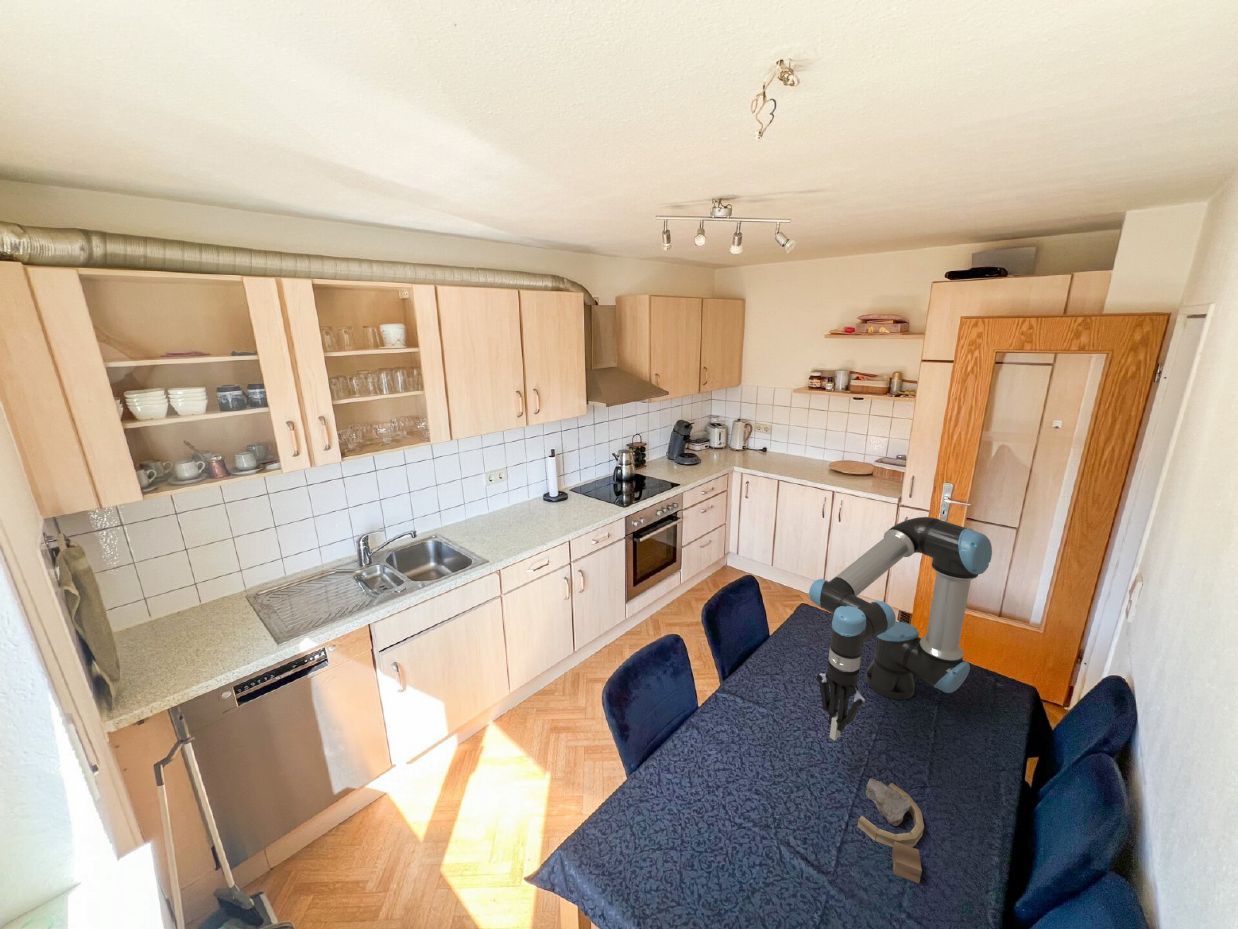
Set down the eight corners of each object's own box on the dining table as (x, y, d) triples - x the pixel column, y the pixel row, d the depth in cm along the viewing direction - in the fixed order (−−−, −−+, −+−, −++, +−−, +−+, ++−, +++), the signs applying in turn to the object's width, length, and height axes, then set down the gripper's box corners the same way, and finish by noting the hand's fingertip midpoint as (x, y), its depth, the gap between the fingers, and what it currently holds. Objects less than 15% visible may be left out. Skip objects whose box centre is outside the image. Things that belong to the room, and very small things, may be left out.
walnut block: (891, 854, 116) (894, 841, 115) (915, 862, 114) (918, 850, 113) (893, 874, 111) (896, 861, 110) (918, 884, 109) (921, 871, 108)
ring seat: (890, 790, 132) (891, 782, 131) (933, 820, 123) (935, 813, 123) (857, 826, 122) (858, 819, 121) (902, 862, 114) (903, 854, 113)
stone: (897, 833, 120) (900, 815, 119) (857, 804, 128) (860, 787, 127) (911, 814, 125) (914, 796, 124) (872, 787, 133) (875, 770, 131)
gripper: (813, 656, 130) (805, 728, 137) (860, 684, 120) (850, 760, 127) (828, 645, 134) (820, 715, 141) (876, 671, 124) (865, 745, 131)
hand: (834, 736), depth 134 cm, fingers closed
